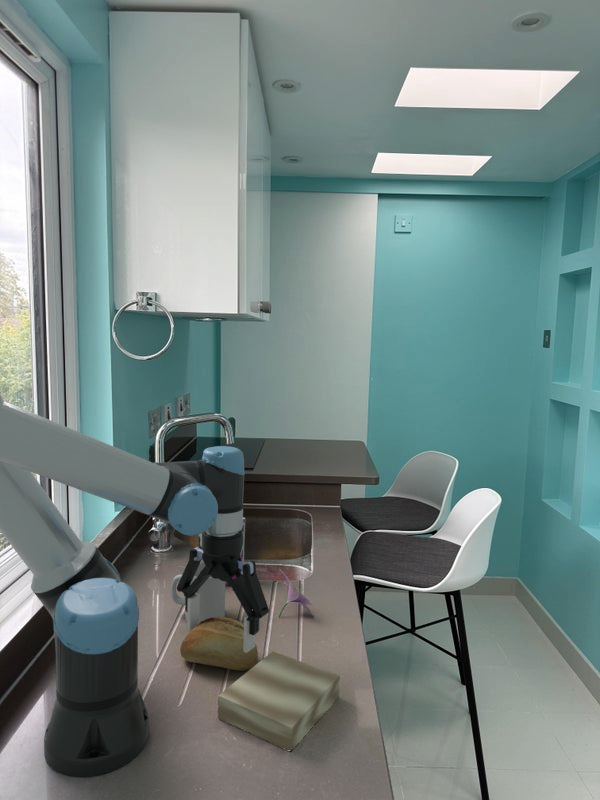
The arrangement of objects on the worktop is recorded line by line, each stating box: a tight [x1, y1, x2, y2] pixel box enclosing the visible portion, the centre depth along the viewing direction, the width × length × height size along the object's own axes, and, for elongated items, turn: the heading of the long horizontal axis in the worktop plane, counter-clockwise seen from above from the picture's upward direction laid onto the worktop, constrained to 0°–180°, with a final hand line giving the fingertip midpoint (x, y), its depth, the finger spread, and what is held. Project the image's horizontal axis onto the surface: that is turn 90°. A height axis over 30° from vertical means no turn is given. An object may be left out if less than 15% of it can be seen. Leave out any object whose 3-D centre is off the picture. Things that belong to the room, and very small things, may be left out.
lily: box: [277, 568, 314, 619], centre depth 130 cm, size 12×12×10 cm
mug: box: [170, 563, 226, 623], centre depth 127 cm, size 12×8×11 cm
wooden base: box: [217, 650, 341, 751], centre depth 98 cm, size 16×14×4 cm
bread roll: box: [180, 616, 259, 672], centre depth 110 cm, size 10×15×8 cm, turn 83°
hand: (220, 638), depth 110 cm, fingers closed on bread roll, 13 cm apart
